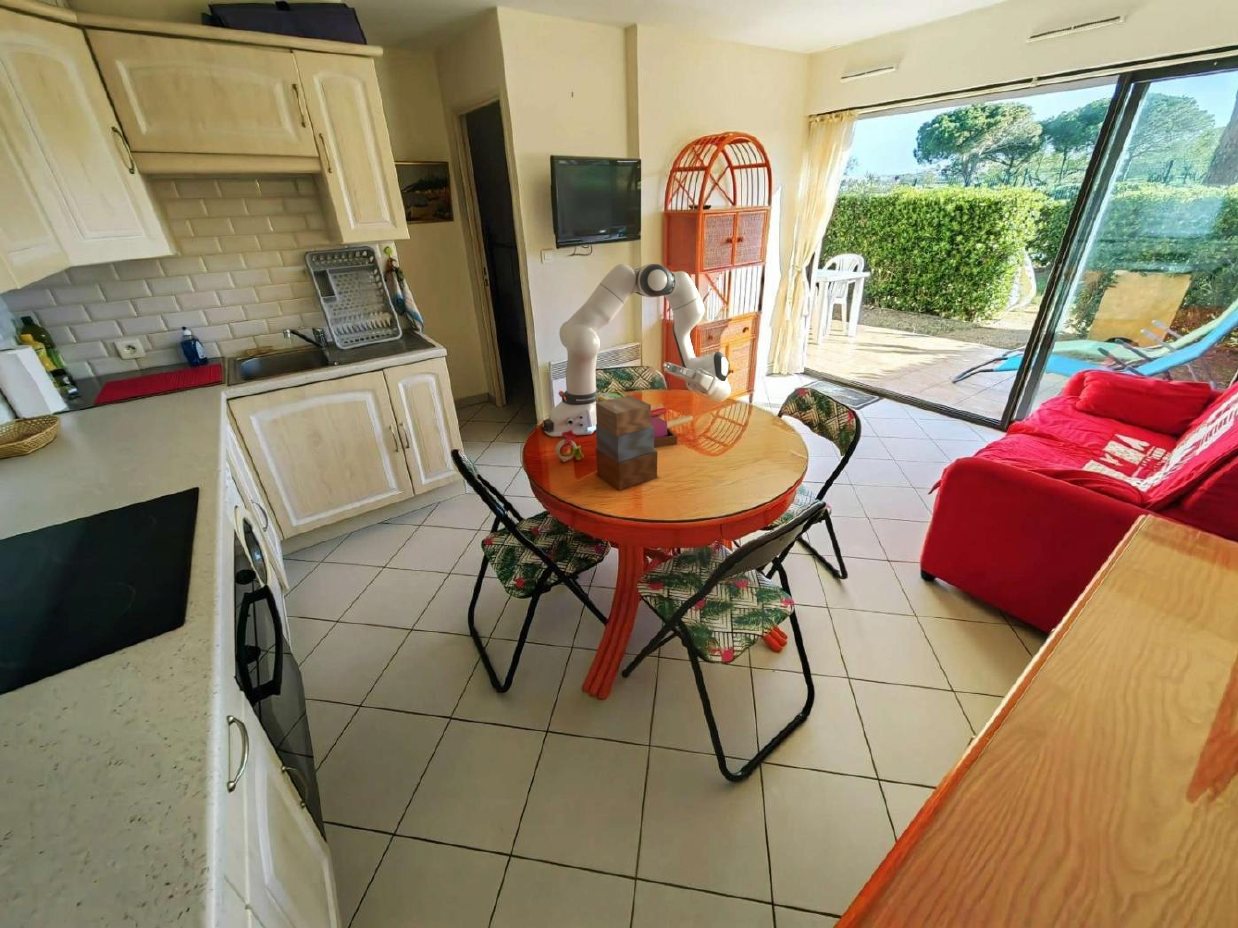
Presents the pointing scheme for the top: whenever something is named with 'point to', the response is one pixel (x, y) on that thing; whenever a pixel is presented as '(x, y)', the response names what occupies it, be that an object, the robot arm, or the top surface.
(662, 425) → the mulberry block
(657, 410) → the candy bar
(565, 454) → the bird rattle
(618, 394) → the puzzle game
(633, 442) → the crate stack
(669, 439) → the walnut tray
